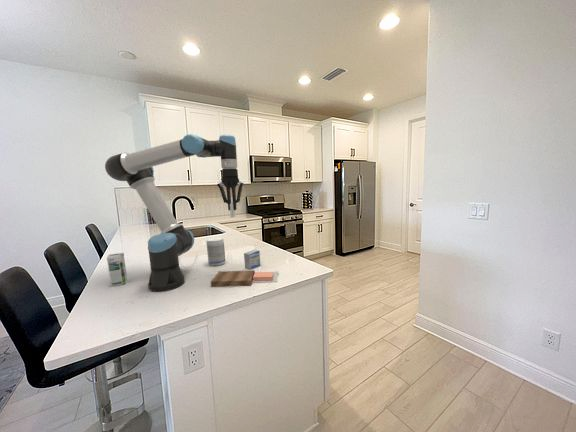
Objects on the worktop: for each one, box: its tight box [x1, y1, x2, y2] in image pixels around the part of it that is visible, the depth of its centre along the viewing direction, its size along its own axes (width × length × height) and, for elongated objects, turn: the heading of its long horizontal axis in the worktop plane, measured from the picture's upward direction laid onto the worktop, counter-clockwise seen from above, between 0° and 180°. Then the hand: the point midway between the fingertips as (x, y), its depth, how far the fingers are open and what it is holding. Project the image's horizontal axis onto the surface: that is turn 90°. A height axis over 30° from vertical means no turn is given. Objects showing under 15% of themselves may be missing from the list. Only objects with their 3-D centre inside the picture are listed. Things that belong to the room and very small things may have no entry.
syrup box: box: [106, 252, 128, 287], centre depth 112 cm, size 6×6×14 cm
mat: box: [252, 271, 279, 284], centre depth 114 cm, size 11×12×1 cm
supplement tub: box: [206, 236, 226, 267], centre depth 135 cm, size 10×10×15 cm
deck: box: [210, 269, 256, 288], centre depth 111 cm, size 18×12×2 cm, turn 89°
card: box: [253, 271, 274, 281], centre depth 112 cm, size 9×6×2 cm, turn 89°
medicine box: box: [243, 249, 261, 271], centre depth 129 cm, size 8×4×9 cm, turn 143°
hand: (232, 216), depth 117 cm, fingers closed
